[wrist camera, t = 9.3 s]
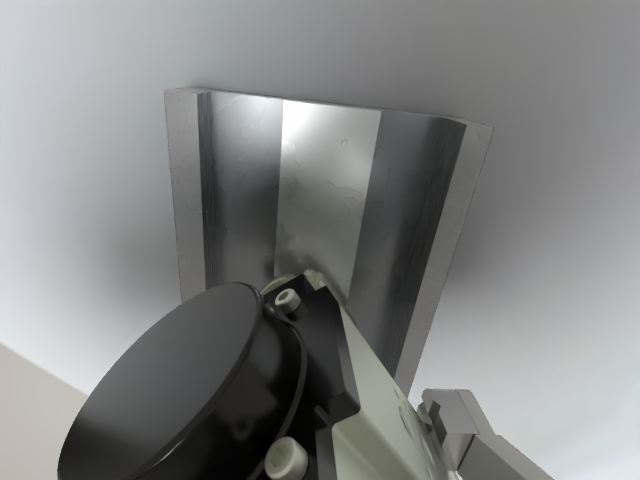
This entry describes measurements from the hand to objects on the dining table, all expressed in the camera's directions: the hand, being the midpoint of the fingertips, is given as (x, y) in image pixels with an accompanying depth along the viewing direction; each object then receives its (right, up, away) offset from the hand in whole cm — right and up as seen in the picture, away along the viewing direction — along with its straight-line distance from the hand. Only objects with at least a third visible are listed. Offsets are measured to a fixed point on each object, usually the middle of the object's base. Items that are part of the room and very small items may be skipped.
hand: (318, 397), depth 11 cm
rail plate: (0, +3, +6) cm, 7 cm away
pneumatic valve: (0, +2, +5) cm, 5 cm away
